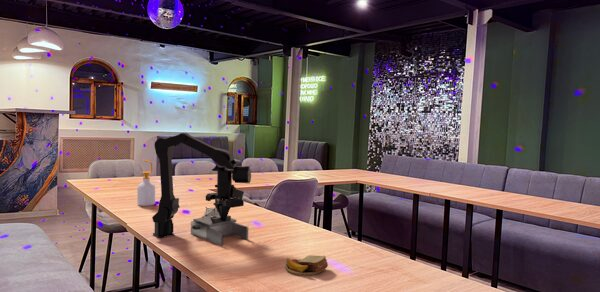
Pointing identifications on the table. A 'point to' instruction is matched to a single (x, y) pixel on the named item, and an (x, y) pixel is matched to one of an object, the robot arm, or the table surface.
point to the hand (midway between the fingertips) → (223, 221)
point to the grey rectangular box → (219, 232)
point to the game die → (210, 212)
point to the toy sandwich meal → (307, 265)
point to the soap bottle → (146, 190)
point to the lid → (214, 221)
